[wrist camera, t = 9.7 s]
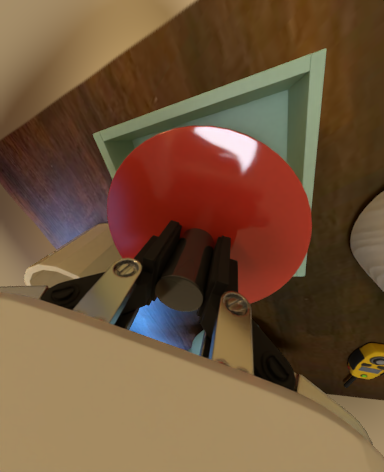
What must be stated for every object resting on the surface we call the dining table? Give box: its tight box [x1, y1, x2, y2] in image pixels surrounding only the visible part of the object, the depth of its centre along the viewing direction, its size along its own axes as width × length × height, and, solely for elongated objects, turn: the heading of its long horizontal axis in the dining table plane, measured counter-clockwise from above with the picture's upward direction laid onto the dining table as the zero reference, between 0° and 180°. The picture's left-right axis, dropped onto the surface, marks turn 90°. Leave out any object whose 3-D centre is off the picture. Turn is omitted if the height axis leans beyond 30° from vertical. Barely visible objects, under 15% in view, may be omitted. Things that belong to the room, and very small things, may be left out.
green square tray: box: [93, 49, 326, 276], centre depth 19 cm, size 18×18×6 cm
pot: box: [24, 223, 122, 288], centre depth 26 cm, size 13×13×10 cm
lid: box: [107, 125, 312, 312], centre depth 10 cm, size 14×14×6 cm
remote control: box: [344, 343, 384, 388], centre depth 31 cm, size 5×2×15 cm
